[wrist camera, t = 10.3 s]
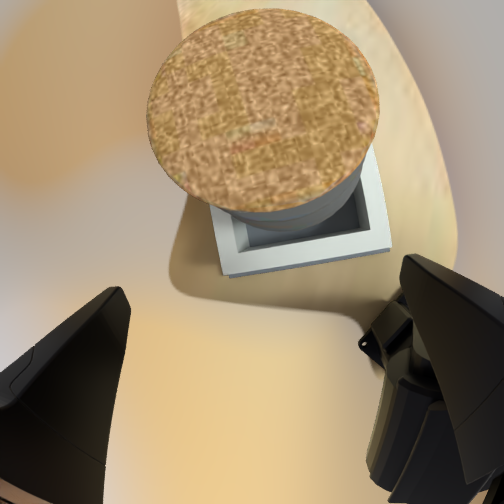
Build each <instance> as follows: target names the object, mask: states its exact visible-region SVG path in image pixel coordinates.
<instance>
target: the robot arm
mask: <svg viewBox="0 0 504 504" xmlns="http://www.w3.org/2000/svg"><path fill="white" fill-rule="evenodd" d="M399 280H400V285H401V287H402V290H403V293H402V294H401V295H400V296H399V297H398V299H397V300H396V301H392V302H391V303H390V304H389V305H388V307H387V308H386V309H385V310H384V311H383V312H382V313H381V314H380V315H379V317H378V318H377V319H376V320H375V321H374V322H373V323H372V324H371V328H370V329H369V331H368V332H367V333H366V334H365V335H364V336H363V337H362V338H361V339H360V340H359V342H358V346H359V348H360V349H361V350H362V351H363V352H364V353H366V354H367V355H368V356H369V357H370V358H372V359H373V360H374V361H375V362H376V363H378V364H379V365H380V366H381V367H382V368H384V369H385V370H386V371H385V377H384V382H383V388H382V393H381V398H380V402H379V407H378V411H377V416H376V420H375V424H374V428H373V432H372V435H371V439H370V442H369V446H368V449H367V456H366V463H367V466H368V469H369V472H370V478H371V479H372V480H373V481H374V482H375V484H376V485H378V486H380V487H381V488H383V489H385V490H387V491H389V492H392V493H391V495H390V497H389V498H388V502H389V503H407V504H469V503H470V502H471V501H472V500H473V498H474V497H475V496H476V495H477V493H479V492H482V491H485V490H488V489H489V490H488V492H487V495H486V497H485V499H484V501H483V504H504V297H502V296H500V295H499V294H497V293H495V292H493V291H491V290H489V289H487V288H485V287H484V286H482V285H480V284H478V283H476V282H474V281H472V280H470V279H468V278H466V277H464V276H462V275H460V274H458V273H456V272H454V271H452V270H450V269H448V268H446V267H444V266H442V265H440V264H438V263H435V262H433V261H431V260H429V259H427V258H425V257H423V256H420V255H418V254H408V255H405V256H404V258H403V262H402V267H401V272H400V277H399ZM130 315H131V308H130V305H129V302H128V300H127V298H126V296H125V294H124V291H123V289H122V288H121V287H119V286H117V287H109V288H107V289H106V290H104V291H103V292H102V293H100V294H99V295H98V296H96V297H95V298H94V299H92V300H91V301H90V302H88V303H87V304H86V305H84V306H83V307H82V308H81V309H79V310H78V311H77V312H75V313H74V314H73V315H72V316H70V317H69V318H67V319H66V320H65V321H64V322H62V323H61V324H60V325H59V326H57V327H56V328H55V329H54V330H52V331H51V332H50V333H49V334H47V335H46V336H45V337H44V338H43V339H41V340H40V341H39V342H38V343H36V344H35V346H33V347H31V348H30V349H29V350H28V351H27V352H25V353H24V355H22V356H21V357H19V358H18V359H17V360H16V361H14V362H13V363H12V364H11V365H9V366H8V367H7V368H6V369H4V370H3V371H2V372H0V504H103V492H104V480H105V468H106V467H105V465H106V458H107V449H108V442H109V434H110V428H111V421H112V415H113V409H114V404H115V398H116V393H117V388H118V382H119V378H120V373H121V368H122V364H123V360H124V355H125V350H126V343H127V336H128V328H129V321H130ZM364 342H367V344H366V345H364V346H363V345H362V343H364Z"/></svg>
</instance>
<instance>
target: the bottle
mask: <svg viewBox="0 0 504 504" xmlns="http://www.w3.org/2000/svg"><path fill="white" fill-rule="evenodd" d="M379 113H380V108H379V94H378V88H377V83H376V79H375V77H374V74H373V72H372V69H371V67H370V66H369V64H368V62H367V60H366V58H365V57H364V56H363V54H362V53H361V51H360V50H359V49H358V47H357V46H356V45H355V44H354V43H353V42H352V41H351V40H350V39H349V38H348V37H347V36H345V35H344V34H343V33H341V32H340V31H339V30H338V29H336V28H334V27H333V26H331V25H330V24H328V23H326V22H324V21H322V20H320V19H318V18H316V17H313V16H310V15H307V14H303V13H300V12H297V11H291V10H284V9H252V10H247V11H241V12H236V13H232V14H229V15H227V16H224V17H221V18H219V19H216V20H214V21H211V22H209V23H208V24H206V25H204V26H202V27H201V28H199V29H197V30H196V31H194V32H193V33H192V34H190V35H189V36H188V37H187V38H186V39H184V40H183V41H182V42H181V43H180V44H179V45H178V46H177V47H176V48H175V49H174V50H173V52H172V53H171V54H170V55H169V56H168V58H167V59H166V60H165V62H164V63H163V64H162V66H161V68H160V70H159V72H158V73H157V75H156V77H155V80H154V82H153V85H152V87H151V91H150V95H149V99H148V104H147V114H146V118H147V128H148V137H149V140H150V144H151V147H152V150H153V152H154V154H155V156H156V158H157V160H158V163H159V164H160V165H161V167H162V168H163V169H164V171H165V172H166V173H167V175H168V176H169V177H170V178H171V179H172V180H173V181H174V182H175V183H176V184H177V185H178V186H179V187H181V188H182V189H183V190H184V191H186V192H187V193H189V194H190V195H192V196H193V197H195V198H197V199H198V200H200V201H203V202H205V203H208V204H210V205H213V206H215V207H217V208H219V209H221V210H222V211H224V212H226V213H229V214H230V215H232V216H233V217H235V218H236V219H238V220H239V221H241V222H243V223H245V224H248V225H250V226H252V227H255V228H259V229H263V230H267V231H277V232H284V231H298V230H302V229H305V228H308V227H311V226H314V225H316V224H319V223H320V222H322V221H324V220H325V219H327V218H329V217H330V216H332V215H333V214H334V213H335V212H336V211H338V210H339V209H340V208H341V207H342V206H343V205H344V204H345V203H346V201H347V200H348V199H349V197H350V196H351V194H352V193H353V191H354V189H355V188H356V186H357V183H358V181H359V178H360V175H361V172H362V167H363V163H364V161H365V157H366V153H367V151H368V149H369V147H370V145H371V143H372V141H373V139H374V137H375V133H376V129H377V125H378V119H379Z"/></svg>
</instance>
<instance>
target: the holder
mask: <svg viewBox="0 0 504 504" xmlns="http://www.w3.org/2000/svg"><path fill="white" fill-rule="evenodd" d="M209 205H210V204H209ZM210 211H211V216H212V221H213V226H214V232H215V237H216V242H217V247H218V252H219V257H220V262H221V267H222V272H223V275H229V278H235V277H241V276H248V275H254V274H261V273H267V272H273V271H279V270H286V269H292V268H298V267H304V266H310V265H316V264H322V263H328V262H333V261H339V260H345V259H350V258H356V257H362V256H367V255H373V254H378V253H384V252H389V251H390V247H392V242H391V234H390V228H389V221H388V215H387V210H386V204H385V199H384V194H383V189H382V184H381V179H380V175H379V170H378V166H377V162H376V158H375V154H374V150H373V146H372V143H371V145H370V147H369V149H368V151H367V153H366V157H365V161H364V163H363V167H362V172H361V175H360V178H359V181H358V183H357V186H356V188H355V189H354V191H353V193H352V194H351V196H350V197H349V199H348V200H347V201H346V203H345V204H344V205H343V206H342V207H341V208H340V209H339V210H338V211H336V212H335V213H334V214H333V215H332V216H330V217H329V218H327V219H325V220H324V221H322V222H320V223H319V224H316V225H314V226H311V227H308V228H305V229H302V230H298V231H284V232H277V231H267V230H263V229H259V228H255V227H252V226H250V225H248V224H245V223H243V222H241V221H239V220H238V219H236V218H235V217H233V216H232V215H230V214H229V213H226V212H224V211H222V210H221V209H219V208H217V207H215V206H213V205H210Z"/></svg>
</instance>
